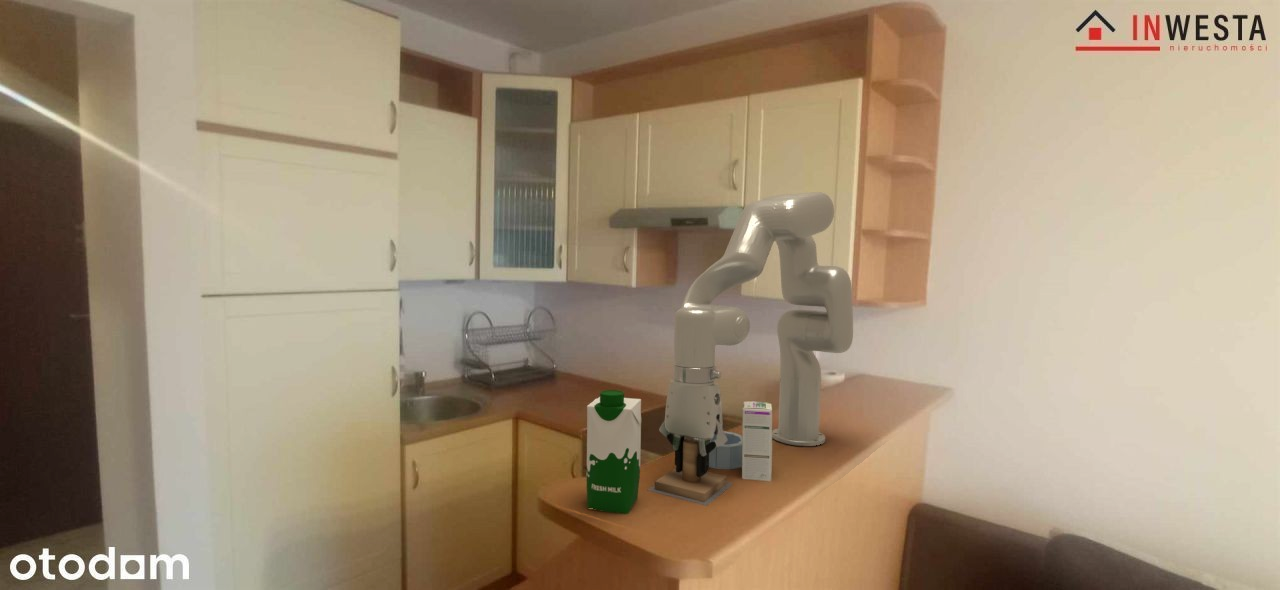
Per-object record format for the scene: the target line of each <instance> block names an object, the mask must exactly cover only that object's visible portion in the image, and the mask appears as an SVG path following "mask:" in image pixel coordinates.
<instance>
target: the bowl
mask: <svg viewBox="0 0 1280 590" xmlns="http://www.w3.org/2000/svg"><path fill="white" fill-rule="evenodd" d="M723 431H724V433H725V435H726V437H727V439H728V441H727V442H726V443H725V444H723V445H721V446H718V447H716V448H715V449H714V450H712V451H711V452H710V453H709V469H715V470H716V469H717V470H732V469H733V470H734V469H738V468H742V434H739V433H737V432H731V431H727V430H726V431H725V430H723ZM693 439H697V440H698V438H693ZM716 439H717V437H716V435H714V437H713V438H712V439H711V442H712V441H714V440H716Z"/></svg>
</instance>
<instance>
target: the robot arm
mask: <svg viewBox="0 0 1280 590" xmlns="http://www.w3.org/2000/svg"><path fill="white" fill-rule="evenodd" d="M834 215H835V206H834V202H833V200H832V199H831V197H830V196H829V195H828V194H827V193H825V192H818V191H817V192H803V193H789V194H787V193H786V194H779V195H778V194H777V195H772V196H771V195H770V196H767V197H764V198H762V199H760V200H755V201H752V202H750V203H748V204H747V205H746V206H744V208H743V209H742V211H741V213H740V216H739V218H738V220H737V222H736V225H735V228H734V230H733V233H732V235H731V237H730V240H729V242H728V243H727V246H726V250H725V251H724V254H723V255H722V256H721V257H720V259H718V260H717V261H715V262H714V263H712V265H710V266H709V267H708V268H706V270H705V271H704V272H703V273H701V274H700V275H699V276H697V278H695V280H694V281H693V283H692V284H690V287H689V289H688V290H687V292H686V293H685V296H684V299H683V301H682V302H681V306H680V309H678V310H677V311H676V312H675V315H674V336H673V337H674V339H673V341H674V342H673V343H674V344H673V377H672V378H673V379H671V380H669V381H670V382H669V385H668V390H667V395H666V401H665V402H666V403H665V411H664V413H665V414H664V415H665V416H664V420H663V421H662V424H661V425H660V427H659V429H658V431H659V432H660V433H661V434H662V435H663V436H664V437H666V439H667V440H668V442H669V443H670V444H671V446H672V450H673V451H674V465H675V468H676V472H681V471H682V466H683V440H685V439H687V438H686V437H688V438H691V439H694V438H698V441H699V450H700V454H699V455H698V456H697V474H696V475H697V477H702V476H703V475H705V474H706V473H707V472H709V469H710V467H709V453H710V452H711V451H712V450H714V449H715V448H716V447H718V446H721V445H723V444H725V443H726V442H727V441H728V439H727V437H726V435H725V433H724V431H725V430H724V429H723V424H724V423H723V420H724V419H723V406H722V396H721V389H720V385H719V384H720V383H718V382H717V381H716V380H720V379H721V378H722V372H721V371H718V370H717V369H716V368H717V367H716V366H715V362H716V361H715V359H716V358H715V356H716V355H715V354H716V346H730V347H731V346H736V345H738V344H741V343H742V342H743V341H744V340H745V339H746V338H747V337H748V334H749V332H750V327H751V323H750V318H749V317H748V315H747V313H746V312H745V311H743V310H742V309H741V308H738V307H735V306H730V305H729V306H728V305H719V304H712V303H713V301H715V300H716V298H717V297H719V296H720V295H722V293H725V292H727V291H728V290H731V289H732V288H735V287H737V286H740V285H742V284H745V283H748V282H750V281H752V280H754V279H756V278H758V277H759V276H760V275H761V274H762V272H763V271H764V268H765V265H766V263H767V260H768V257H769V254H770V252H771V250H772V247H773V244H774V243H776V245H777V248H778V253H779V254H778V255H779V267H780V269H779V270H780V285H781V293H782V294H781V295H782V298H783V300H784V301H785V302H786V303H788V304H790V305H796V306H804V307H805V306H806V307H819V308H820V307H821V308H822V307H823V308H825V310H826V311H822V310H821V311H820V310H812V309H811V310H810V309H809V310H808V309H791V310H787V311H786V312H783V313H782V314H781V315H780V316H779V319H778V321H777V326H776V328H777V331H776V332H777V339H778V345H779V353H780V355H779V357H780V360H779V361H780V364H779V365H780V368H779V370H780V371H779V397H778V398H779V399H778V428H775V429H772V439H773V440H775V441H777V442H779V443H782V444H786V445H791V446H798V447H816V445H817V446H821V445H823V444H824V443H825V442H826V435H825V434H824V433H822V432H821V431H820V410H821V409H820V408H821V406H820V405H821V404H820V403H821V381H822V380H821V379H822V378H821V377H822V371H821V364H820V362H819V360H818V358H817V356H816V355H815V353H814V352H821V353H823V352H824V353H831V354H842V353H845V352H847V351H848V350H849V349H850V348H851V346H852V343H853V337H854V315H853V313H854V311H853V288H852V280H851V277H850V275H849V273H848V272H847V270H845V269H844V268H843V267H840V266H836V265H819V263H818V256H817V255H818V253H817V244H816V242H815V238H813V236H814V235H817V234H820V233H822V232H824V231H826V230H827V229H828V228H829V227H830V226H831V224H832V222H833V219H834ZM715 381H716V382H715ZM714 435H716V437H717V439H716V440H714V441H712V442H711V439H712V438H713V437H714ZM820 444H821V445H820Z"/></svg>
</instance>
